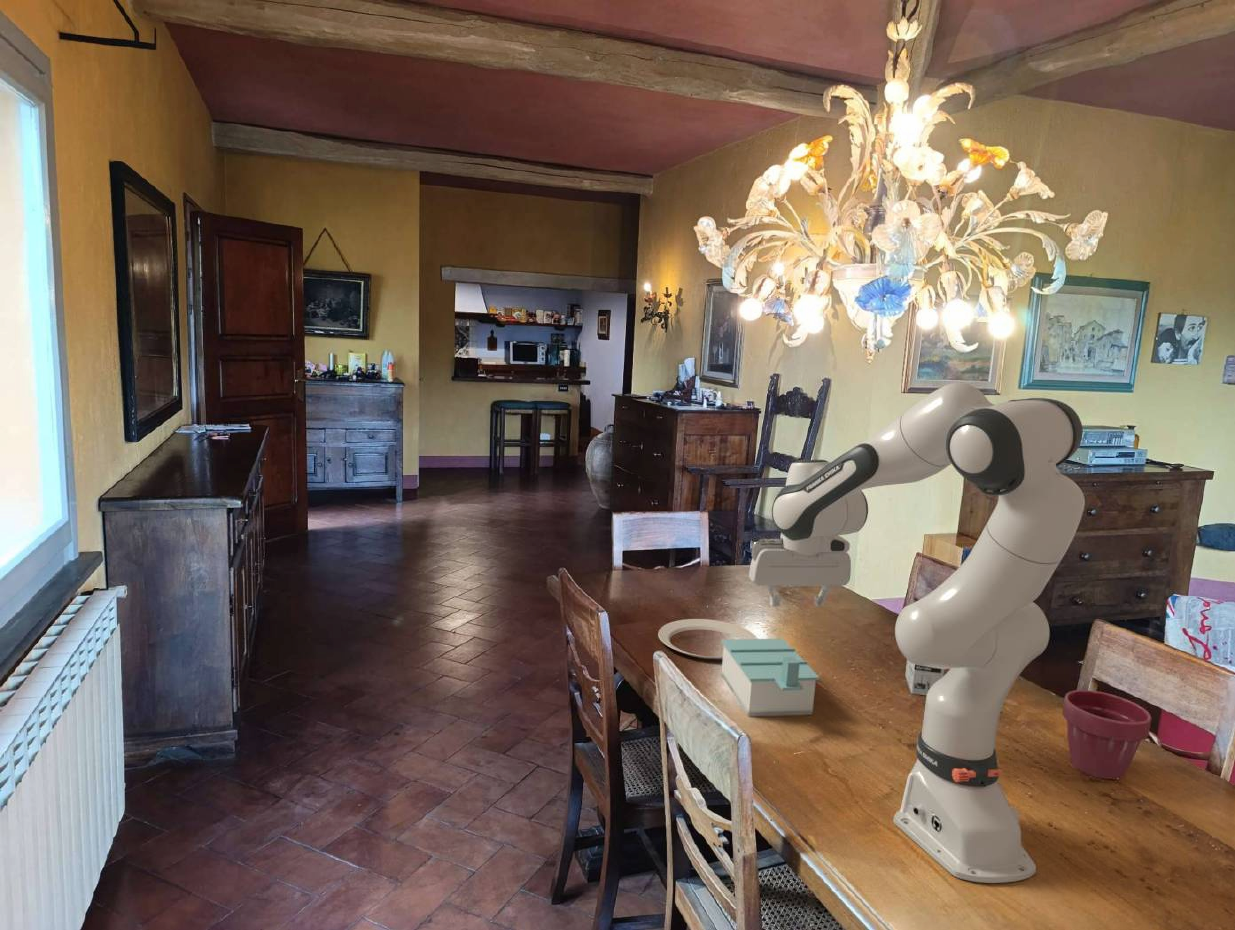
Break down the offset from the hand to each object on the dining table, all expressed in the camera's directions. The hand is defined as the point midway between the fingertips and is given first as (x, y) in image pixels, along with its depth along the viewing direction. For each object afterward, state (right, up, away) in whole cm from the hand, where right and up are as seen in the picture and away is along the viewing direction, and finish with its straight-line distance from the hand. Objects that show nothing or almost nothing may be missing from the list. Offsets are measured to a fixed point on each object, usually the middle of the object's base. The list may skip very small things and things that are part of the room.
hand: (796, 605), depth 164 cm
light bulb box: (+35, -23, +25) cm, 49 cm away
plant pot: (+56, -30, -7) cm, 64 cm away
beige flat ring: (-13, -18, +44) cm, 49 cm away
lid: (-3, -16, +13) cm, 21 cm away
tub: (-3, -23, +17) cm, 28 cm away
